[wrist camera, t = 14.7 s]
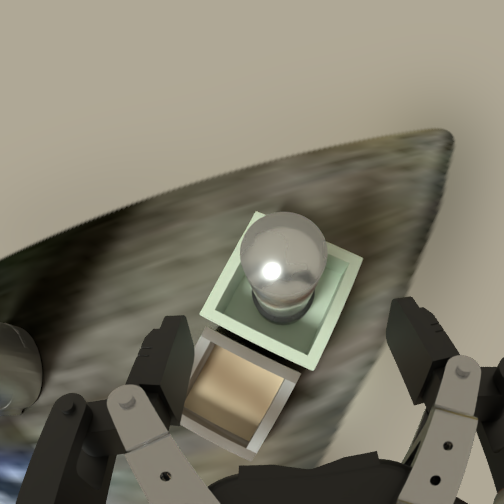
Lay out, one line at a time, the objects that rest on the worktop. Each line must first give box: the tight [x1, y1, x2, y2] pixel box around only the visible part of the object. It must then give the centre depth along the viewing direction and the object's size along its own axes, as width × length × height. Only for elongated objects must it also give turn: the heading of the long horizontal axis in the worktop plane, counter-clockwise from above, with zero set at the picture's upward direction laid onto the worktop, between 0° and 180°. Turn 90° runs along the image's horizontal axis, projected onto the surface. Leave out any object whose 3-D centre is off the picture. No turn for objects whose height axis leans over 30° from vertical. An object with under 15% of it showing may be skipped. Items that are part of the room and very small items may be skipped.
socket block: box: [180, 326, 301, 461], centre depth 21 cm, size 7×7×3 cm
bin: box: [199, 211, 363, 371], centre depth 23 cm, size 9×9×4 cm
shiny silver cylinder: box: [240, 212, 328, 325], centre depth 19 cm, size 4×4×11 cm
